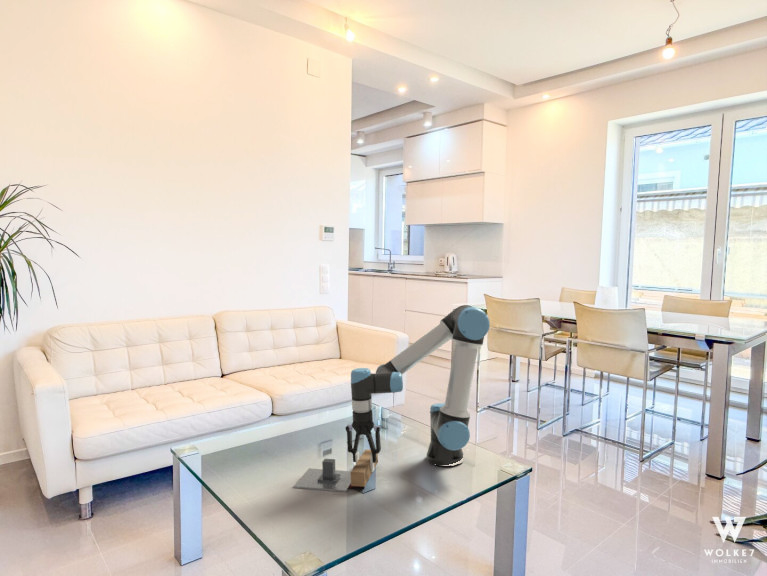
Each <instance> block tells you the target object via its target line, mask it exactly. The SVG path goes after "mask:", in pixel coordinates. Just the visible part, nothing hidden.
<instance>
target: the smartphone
mask: <svg viewBox="0 0 767 576" xmlns="http://www.w3.org/2000/svg"><path fill="white" fill-rule="evenodd" d="M365 488H366V486H365V487H363V486H351V484H350V486H349V487H348V490H349V491H350V490H357V491H358V490H359V491H360V490H361V491H363V490H365ZM348 490H347V491H348Z"/></svg>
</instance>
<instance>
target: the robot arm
mask: <svg viewBox="0 0 767 576" xmlns="http://www.w3.org/2000/svg"><path fill="white" fill-rule="evenodd" d="M490 324H491V323H490V319H489V317H488V315H487V313H486V312H485V311H484V310H482V309H481V308H480V307H477V306H473V305H468V304H464V305H459V306H457V307H456V308H454V309H453V310H452V311H450V313H448V314H447V315H446V316H444V317H443V318H441V319H440V321H439V324H438V325H437V326H434V328H432V329H431V330H430V331H428V332H427V333H426V334H424V335H423V336H422V337H420V338H418V339H417V340H416V341H415V342H413V343H412V344H410V345H409V346H407V347H406V348H405V349H404V350H403V351H401V352H400V353H398V354H397V355H395V356H394V357H393V358H391V359H390V360H389V361H388V362H387V361H386V363H384V364H380V365H379V366H378V367H377V368H376V370H375V373H373V372H371V369H370V368H367V367H359V368H354V369H352V370H351V372H350V388H351V389H350V390H351V410H352V423H351V424H347V425H346V427H345V431H346V440H347V441H346V442H347V452H348V453H351V454H352V461H353V463H355V464H356V463H357V461H358V460H359V458H360V451H358V448H359V443H360V438H361V435H362V436H363V435H364V436H365V437H366V438H367V442H368V445H369V448H370V449H369V450H371V452H372V453H371V454H370V465H371V472H372V473H373V472H374V471H375V469H374V463H375V462H376V454H377V453H378V454H380V452H381V451H382V450H381V449H382V447H381V430H382V429H381V428H382V426H381V425H377V424H375V423H374V421H373V419H374V418H373V416H374V415H373V410H372V409H373V399H372V395H373V394H375V395H376V394H391V393H392V394H395V393H401V392H403V390H404V383H403V381H404V380H403V375H404V374H405V373H407V372H408V371H410V370H411V369H412V368H414V367H415V366H416V365H417V364H419V363H420V362H423V360H424V359H426V358H427V357H429V356H430V355H432V354H433V353H434V352H435V351H437V350H438V349H440V348H441V347H442V346H443V345H445V344H446V343H448V342H449V341H450V340H452V341H453V343H454V350H453V356H452V361H451V368H450V373H449V378H448V384H447V390H446V396H445V402H441V403H435V404H431V406H430V408H429V413H430V442H429V446H428V449H427V452H426V461H427V463H429V464H431V463H432V464H431V465H433V464H436V465H449V464H453V463H456V462H458V461H460V460H461V459H462V458H463V455H464V452H463V448H464V447H465V446H467V444H468V443H469V441H470V439H471V438H470V437H471V434H470V433H471V432H470V429H469V423H470V420H471V419H470V418H471V414H470V413H469V411H468V407H469V400H470V394H471V388H472V384H473V377H474V372H475V366H476V362H477V361H476V360H477V356H478V351H479V348H481V347H482V346H483V345H484V340H485V337H486V335H487V334H488V332H489V330H490ZM373 429H374V430H373ZM353 430H354V431H355V439H354V444H353ZM372 430H373V431H374V432H375V435H374V436H375V442H374V439H373V435H372ZM436 465H435V466H436Z"/></svg>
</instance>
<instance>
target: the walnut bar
mask: <svg viewBox="0 0 767 576" xmlns="http://www.w3.org/2000/svg"><path fill="white" fill-rule="evenodd" d="M371 453H372V452H371V449H367V448H366V449H364V450H363V453H361V455H360V456H359V460H358V461H357V463H356V462H355V465H354V466H353V468H352V469H351V486H363V487H365V488H366V485H367V483H368V482H369V480H370V478H371V476H372V474H373V472H371V465H370V454H371ZM378 464H379V453H377V454H376V462H375V463H374V470H375V469H376V467H377V465H378Z"/></svg>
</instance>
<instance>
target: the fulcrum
mask: <svg viewBox="0 0 767 576" xmlns="http://www.w3.org/2000/svg"><path fill="white" fill-rule="evenodd" d="M321 463H322V468H308V469H307V470H306V471H305V472H304V473H303V474H302V476H301V477H299V479H298V480H297V481H296V482H295V483H294V484H293V486H292V487H293V488H294V489H305V490H314V491H315V490H317V491H329V492H341V493H342V492H343V493H347V492H348V487H349V486H350V484H351V471H352V470H351V471H350V470H338V469H336V459H333V458H324V459H323V460H322V461H321Z"/></svg>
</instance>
